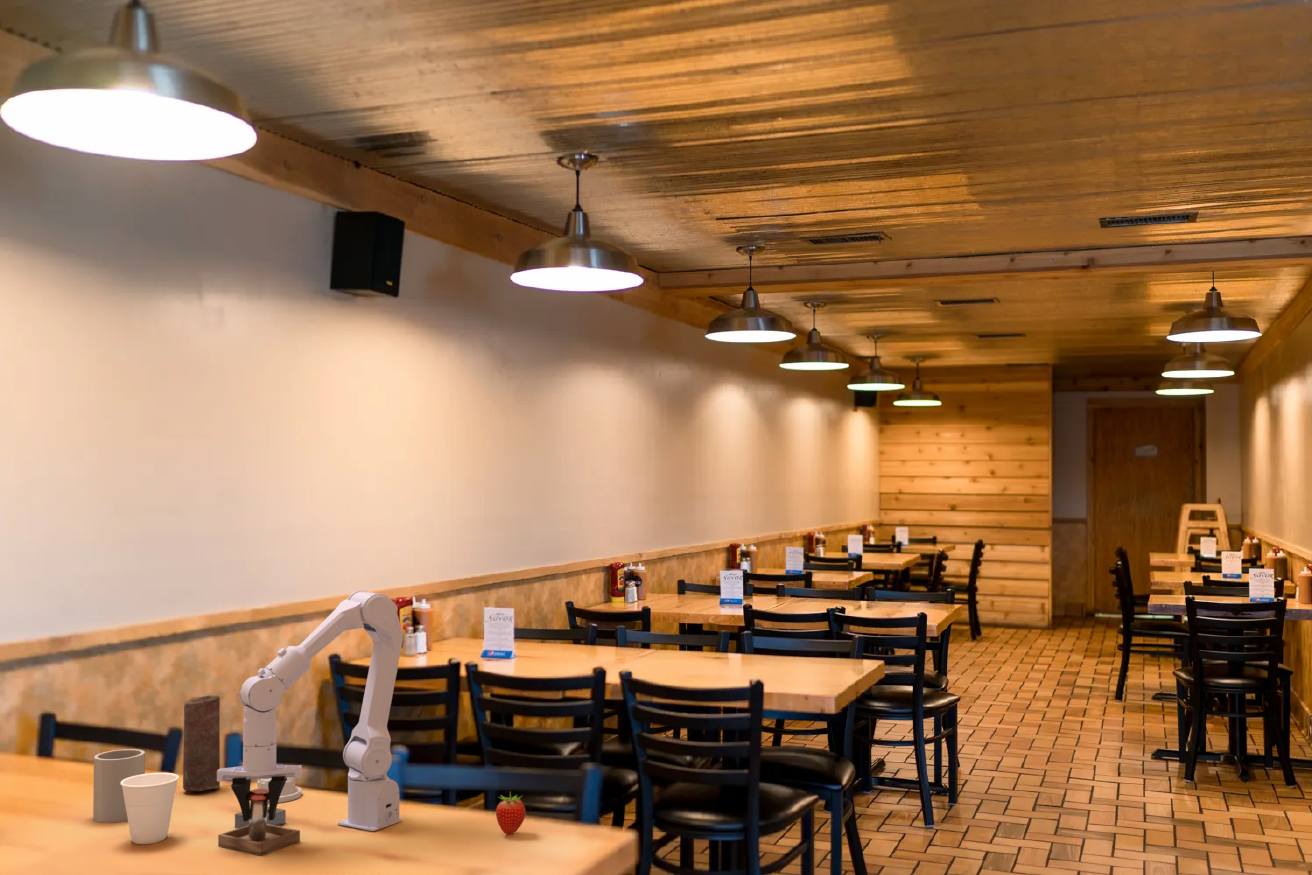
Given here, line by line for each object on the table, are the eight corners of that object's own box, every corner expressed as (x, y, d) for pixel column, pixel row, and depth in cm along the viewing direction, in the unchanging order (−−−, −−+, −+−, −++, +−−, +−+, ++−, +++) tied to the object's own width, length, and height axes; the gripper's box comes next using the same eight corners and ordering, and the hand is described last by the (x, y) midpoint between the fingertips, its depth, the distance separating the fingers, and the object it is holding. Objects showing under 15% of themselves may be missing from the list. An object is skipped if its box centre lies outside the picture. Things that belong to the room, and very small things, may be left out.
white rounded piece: (243, 804, 234) (291, 805, 234) (243, 783, 234) (291, 783, 234) (261, 791, 244) (308, 792, 244) (261, 771, 244) (308, 771, 244)
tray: (299, 841, 209) (299, 830, 209) (260, 855, 201) (260, 843, 201) (258, 832, 214) (258, 821, 215) (218, 846, 207) (218, 834, 207)
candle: (211, 795, 240) (211, 699, 241) (176, 796, 241) (177, 699, 241) (225, 786, 248) (225, 693, 249) (191, 786, 248) (192, 693, 249)
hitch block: (285, 823, 220) (285, 809, 220) (258, 832, 215) (258, 818, 215) (262, 818, 224) (262, 805, 224) (234, 827, 218) (234, 813, 218)
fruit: (513, 828, 215) (513, 785, 216) (530, 834, 212) (530, 791, 212) (490, 835, 212) (490, 791, 212) (507, 841, 208) (507, 796, 208)
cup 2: (121, 851, 204) (121, 788, 205) (118, 836, 213) (119, 776, 213) (181, 842, 209) (181, 781, 209) (176, 828, 218) (176, 769, 218)
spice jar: (270, 832, 211) (273, 789, 210) (265, 840, 207) (268, 796, 206) (248, 831, 210) (251, 788, 210) (243, 839, 206) (245, 795, 206)
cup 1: (82, 819, 224) (83, 757, 224) (120, 807, 232) (120, 747, 233) (117, 824, 221) (118, 761, 221) (154, 811, 229) (155, 751, 230)
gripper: (304, 737, 213) (304, 811, 213) (223, 740, 212) (223, 814, 211) (297, 745, 206) (297, 822, 206) (213, 748, 205) (213, 825, 204)
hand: (259, 819), depth 208 cm, fingers closed on spice jar, 4 cm apart
